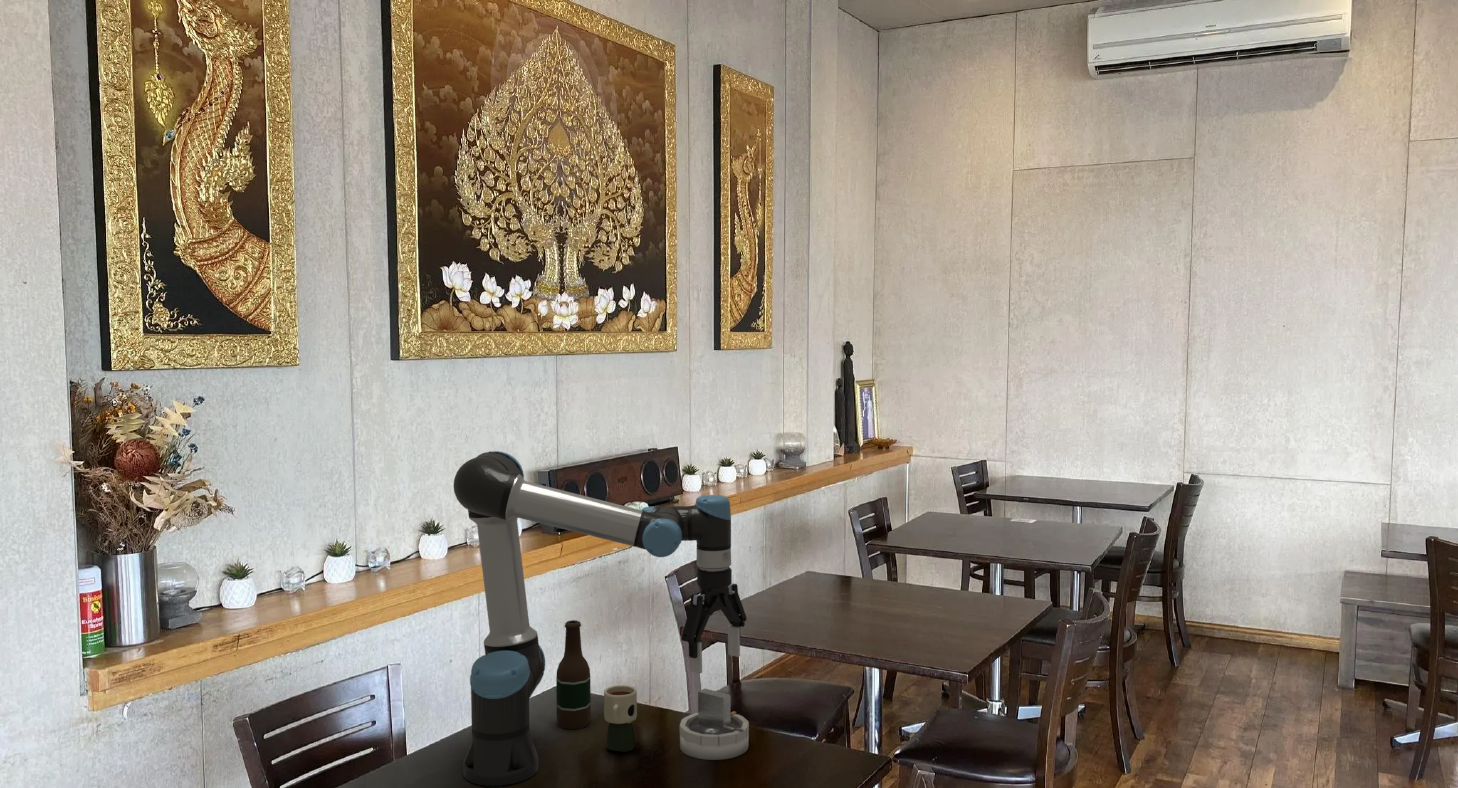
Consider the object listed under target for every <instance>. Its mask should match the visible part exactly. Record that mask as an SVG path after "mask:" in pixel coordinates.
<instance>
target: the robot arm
mask: <svg viewBox="0 0 1458 788" xmlns="http://www.w3.org/2000/svg"><path fill="white" fill-rule="evenodd" d="M453 494H454V495H455V497H456V500H457V502H458V503H459V504H460V505H461V506H463V508H464V509H466V510H467V513H468V518H469V520H471V521H472V522H473V523H475V524H476V527H477V528H476V529H477V535H478V544H479V545H478V546H479V553H480V561H481V568H482V569H481V570H482V578H483V585H484V586H483V587H484V594H485V603H486V612H487V619H488V628H489V629H488V630H489V632H488V635H487V636H486V637H485V639H484V640H483V646H484V648H483V649H484V655H482V656H480V657H478V658H477V659H476V660H475V661H474V662H473V663H472V666H471V670H470V675H469V681H470V682H469V684H470V700H471V702H470V704H471V705H470V706H471V707H470V708H471V709H470V710H471V711H470V712H471V713H470V714H471V738H470V741H469V744H468V748H467V751H466V754H465V757H464V760H463V765H462V767H463V777H464V778H465V780H466V781H468V782H470V783H472V784H475V785H479V786H484V787H501V786H508V785H512V784H518V783H520V782H523V781H526V780H528V779H530V778H532V777H533V776H534V775H535V774H537V772H538V771H539V754H538V752H537V749H536V746H535V743H534V741H533V737H532V735H531V732H530V731H531V730H530V699H531V697H532V695H533V693H535V690H536V689H537V687H538V686H539V684H540V683H541V682H542V680H543V678H544V674H545V670H546V657H545V653H544V651H543V650H544V649H542V647H541V646H540V643H539V635H538V631H537V630H536V629H534V628H533V627H532V626H531V625H530V618H529V609H528V602H527V594H526V583H525V577H524V568H523V558H522V551H521V549H522V548H521V541H520V534H519V533H520V532H519V523H518V519H522V520H526V521H529V522H530V521H531V522H535V523H538V524H540V525H541V524H542V525H546V526H549V527H553V528H554V527H555V528H557V529H563V530H566V531H571V532H574V533H578V534H583V535H587V536H590V537H594V538H599V539H602V540H606V541H609V542H610V541H611V542H615V543H618V544H623V545H627V546H630V547H635V548H638V549H642V550H645V551H647V553H648V554H650V555H652V556H653V557H656V558H666V557H668V556H671V555H672V554H674V552H676V551H677V549H678V548H680V547H679V546H680V545H681V544H682V542H684V541H685V542H686V541H690V542H692V541H696V566H697V568H696V569H697V570H696V583H697V585H698V586H699V588H700V594H693V593H692V594H691V596H690V603H689V608H688V613H687V615H686V616H687V617H686V618H685V619H686V620H685V623H684V627H683V630H682V635H681V641H683V642H687V643H688V657H689V671H690V672H692V673H696V674H703V642H701V641H700V639H701V638H702V636H703V633H704V630H705V629H706V626H707V623H708V622H709V619H710V617H711V616H712V615H713V614H714V612H717V611H718V610H721V612H722V613H723V615H724V616H725V618H726V619H727V621H728V622H729V624H730V625H727V649H728V650H727V652H728V653H727V655H728V656H732V657H737V658H739V657H740V656H741V627H742V628H744V627H745V625H746V624H745V623H746V621H747V615H746V612H745V609H744V607H743V604H742V600H741V598H740V594H739V588H738V587H739V586H738V584H737V583H733V580H732V579H733V578H732V577H733V576H732V568H731V567H730V566H732V513H731V512H732V511H731V501H730V499H729V497H727V496H724V495H718V494H708V495H701V496H698V497H697V498H696V500H695V503H694V504H693V505H688V506H687V505H685V506H683V505H680V506H679V505H677V506H676V505H670V506H669V505H668V506H667V505H664V506H663V505H655V506H654V505H653V506H645V507H643V508H642V509H638V508H633V507H629V506H625V505H621V504H618V503H614V502H610V501H605V500H601V499H598V498H594V497H590V496H586V495H582V494H578V493H574V492H570V491H567V490H563V489H558V488H555V487H551V486H547V485H543V484H538V483H536V482H535V483H534V482H530V481H526V480H525V474H524V470H523V467H522V465H521V463H520V462H519V461H518V459H516V458H515V457H514V456H512V454H510V453H507V452H504V451H501V450H494V451H491V450H490V451H486V452H482V453H480V454H479V455H477V456H475V457H473V458H471V459H469V460H467V461H466V462H464V463H463V464H462V465H461V466H460V467H459V468H458V470H457V471H456V473H455V476H454V479H453Z"/></svg>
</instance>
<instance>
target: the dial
mask: <svg viewBox="0 0 1458 788" xmlns="http://www.w3.org/2000/svg"><path fill="white" fill-rule="evenodd" d="M731 708H732V707H731V694H728V693H724V692H720V691H718V690H717V691H716V690H712V689H709V688H703V689H701V690H698V692H697V713H698V718H696V719H694V720H692V721H691V722H690V723H689V729H690V730H691V731H694V732H697V733H701V734H713V735H720V734H726V733H732V732H734V731H736V730H735V728H737V727H738V728H739V722H738V721H737V720H735V719H733V718H731V711H732V710H731Z"/></svg>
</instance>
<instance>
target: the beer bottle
mask: <svg viewBox="0 0 1458 788" xmlns="http://www.w3.org/2000/svg"><path fill="white" fill-rule="evenodd" d="M581 627H582V624H581V622H580V621H579V620H576V619H575V620H574V619H573V620H567V621H566V622H565V623H564V628H565V641H564V652H563V657H562V659H561V661H560V662H559V664H558V666H557V669H556V680H555V682H556V683H555V684H556V686H555V687H556V689H555V691H556V693H555V694H556V724H557V725H558V726H559V727H560V728H561V729H563V730H572V729H573V730H579V729H583V728H586V727H588V725H589V724H590V723H591V719H592V718H591V716H592V715H591V714H592V713H591V712H592V710H591V707H592V705H591V702H592V700H591V699H592V698H591V669H590V666H589V664H588V661H587V660H586V658H585V657H584V655H583V650H582V637H581Z"/></svg>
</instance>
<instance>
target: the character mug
mask: <svg viewBox="0 0 1458 788" xmlns="http://www.w3.org/2000/svg"><path fill="white" fill-rule="evenodd" d="M637 691H638V690H637V688H636V687H634V686H631V685H625V684H624V685H623V684H618V685H611V686H608V687H606V688H605V689H604V690H603V718H604V719H603V720H604V721H606V722H607V723H609V724H608V725H607V733H606V744H605V745H606V746H605V747H606V749H607V750H611V751H615V752H618V753H619V752H624V753H625V752H630V751H632V750H633V749H635V745H636V740H635V739H636V738H635V733H634V732H635V731H634V725H633V723H632V722H633V721H635V720H636V719H637V716H638V705H637V703H638V701H637V700H638V697H637V696H638V695H637V694H638V692H637Z"/></svg>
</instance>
